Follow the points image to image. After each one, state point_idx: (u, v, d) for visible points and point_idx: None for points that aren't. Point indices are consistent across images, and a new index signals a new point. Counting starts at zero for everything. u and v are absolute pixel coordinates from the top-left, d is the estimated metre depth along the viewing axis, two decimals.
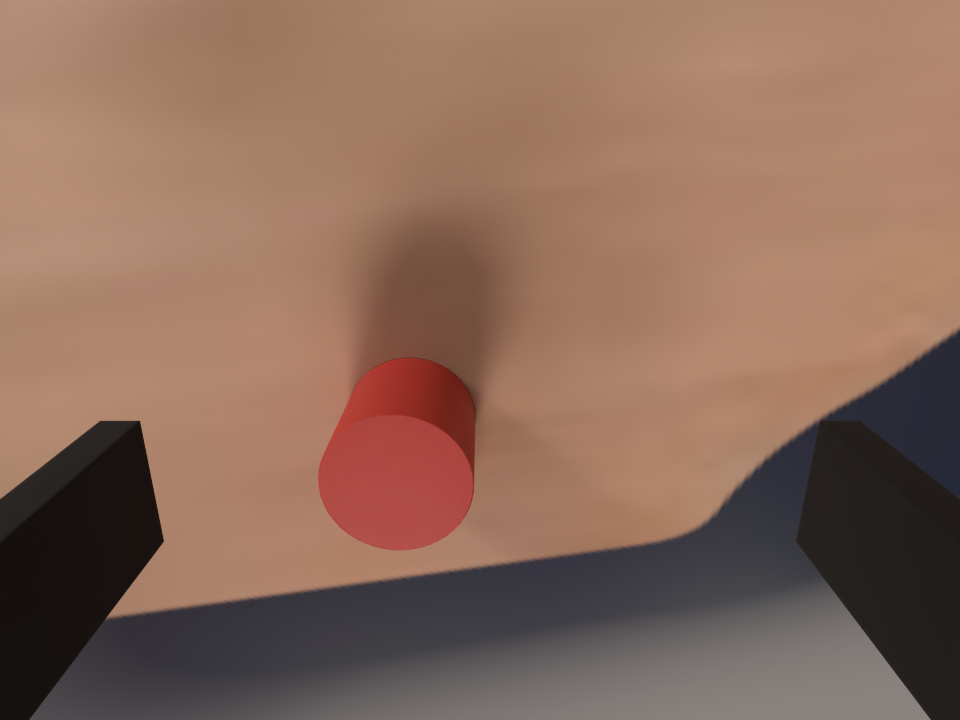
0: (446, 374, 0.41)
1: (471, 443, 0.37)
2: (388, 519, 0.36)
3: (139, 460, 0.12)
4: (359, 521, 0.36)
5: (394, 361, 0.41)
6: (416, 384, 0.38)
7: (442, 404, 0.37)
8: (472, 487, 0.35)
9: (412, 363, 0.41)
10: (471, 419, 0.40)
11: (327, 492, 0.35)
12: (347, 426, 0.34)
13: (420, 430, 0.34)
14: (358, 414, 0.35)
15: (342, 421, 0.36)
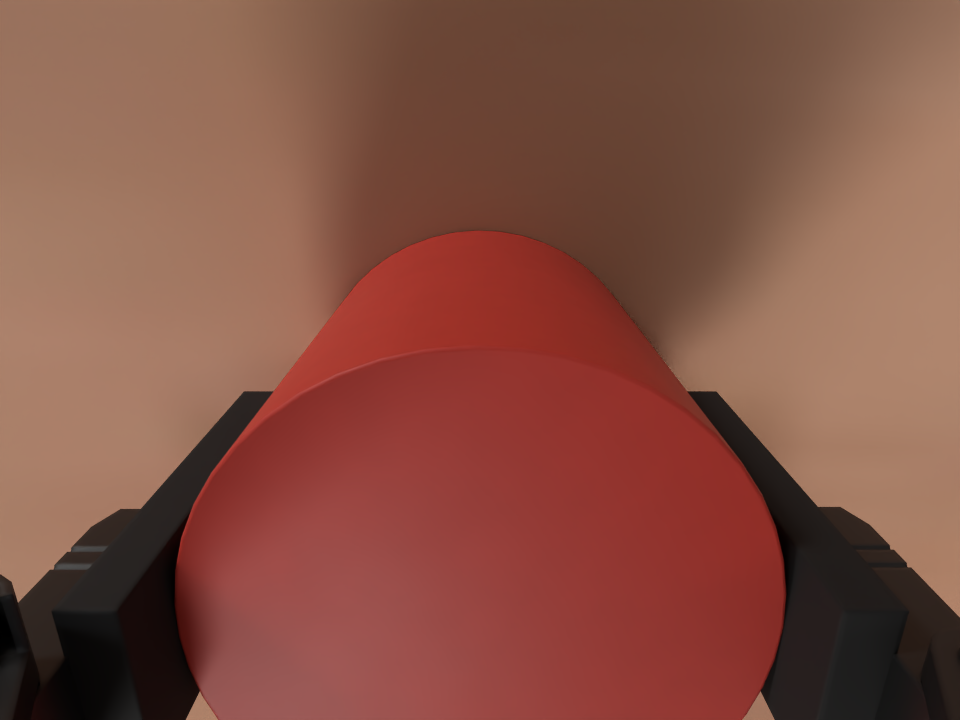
0: (603, 286, 0.15)
1: None
2: None
3: None
4: None
5: (465, 234, 0.15)
6: (558, 281, 0.12)
7: (653, 352, 0.11)
8: (765, 672, 0.09)
9: (518, 241, 0.15)
10: None
11: (206, 628, 0.09)
12: (322, 377, 0.08)
13: (633, 434, 0.08)
14: (372, 338, 0.09)
15: (303, 362, 0.10)
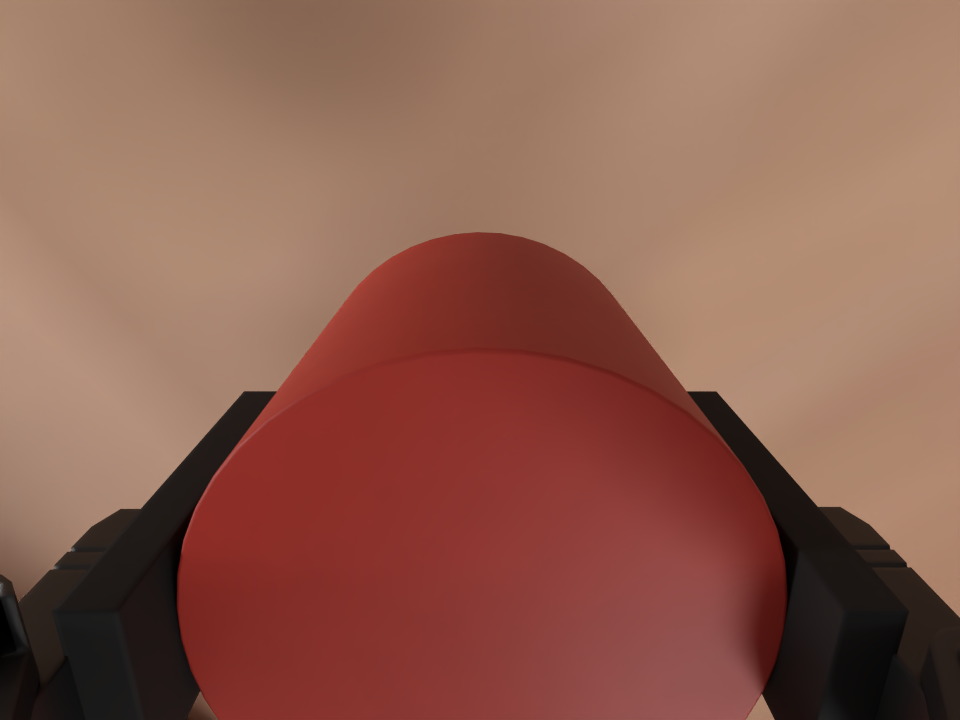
0: (604, 288, 0.15)
1: None
2: None
3: None
4: None
5: (466, 235, 0.15)
6: (560, 283, 0.12)
7: (654, 354, 0.11)
8: (766, 674, 0.09)
9: (519, 243, 0.15)
10: None
11: (208, 630, 0.09)
12: (324, 380, 0.08)
13: (635, 436, 0.08)
14: (373, 341, 0.09)
15: (305, 365, 0.10)
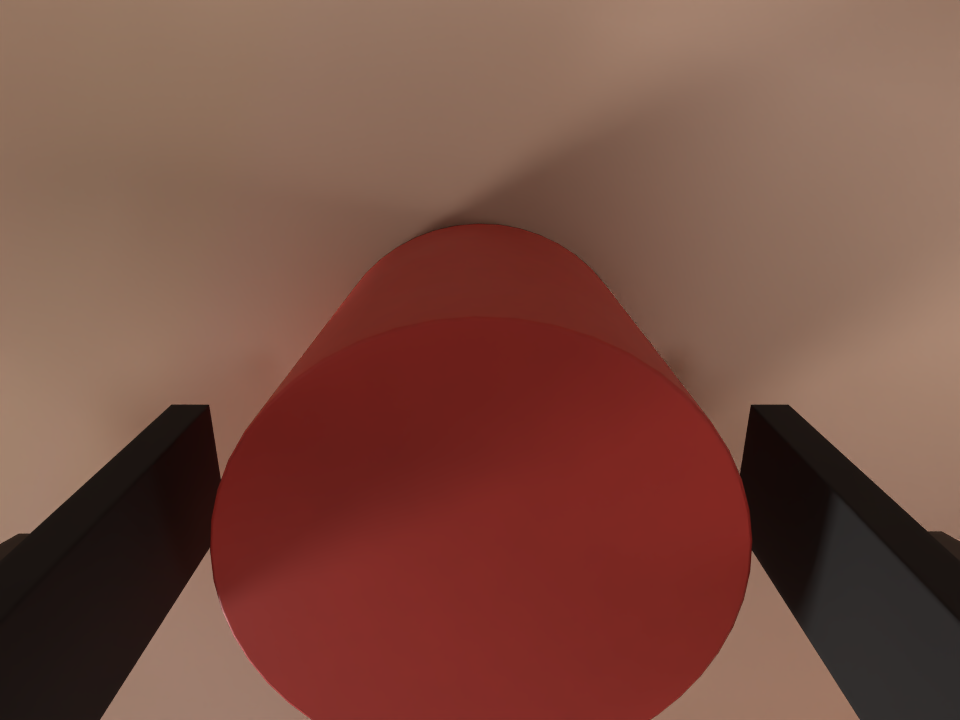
0: (595, 275, 0.16)
1: None
2: (430, 678, 0.11)
3: (208, 441, 0.13)
4: (335, 674, 0.11)
5: (467, 226, 0.16)
6: (552, 267, 0.13)
7: (637, 331, 0.12)
8: (734, 612, 0.10)
9: (516, 233, 0.16)
10: None
11: (237, 572, 0.10)
12: (343, 345, 0.09)
13: (615, 395, 0.09)
14: (386, 314, 0.10)
15: (322, 338, 0.11)
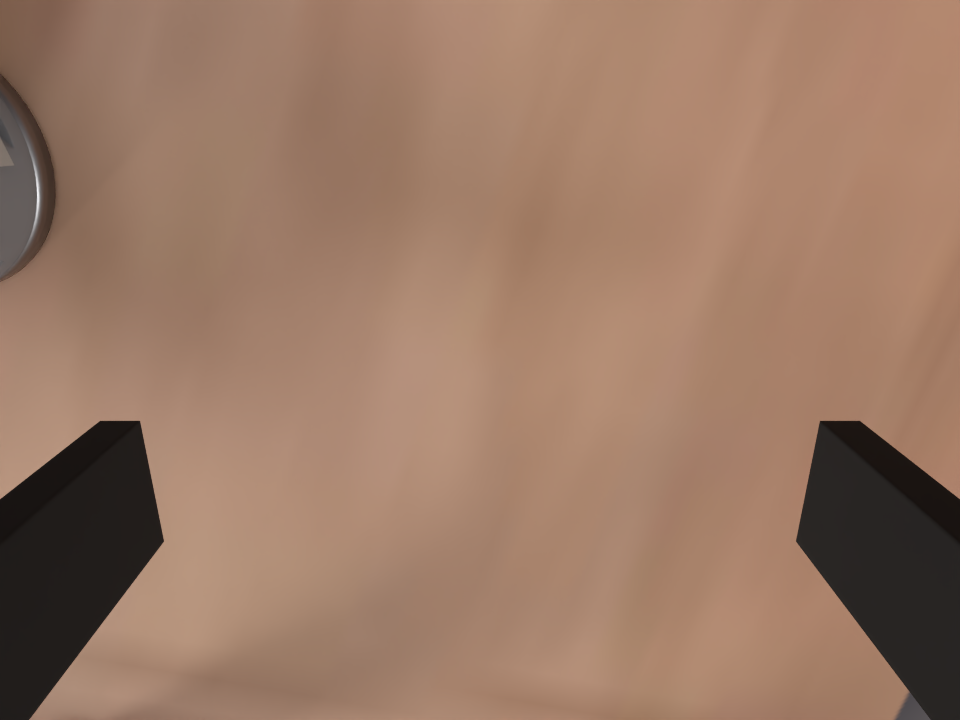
0: None
1: None
2: None
3: (139, 460, 0.12)
4: None
5: None
6: None
7: None
8: None
9: None
10: None
11: None
12: None
13: None
14: None
15: None
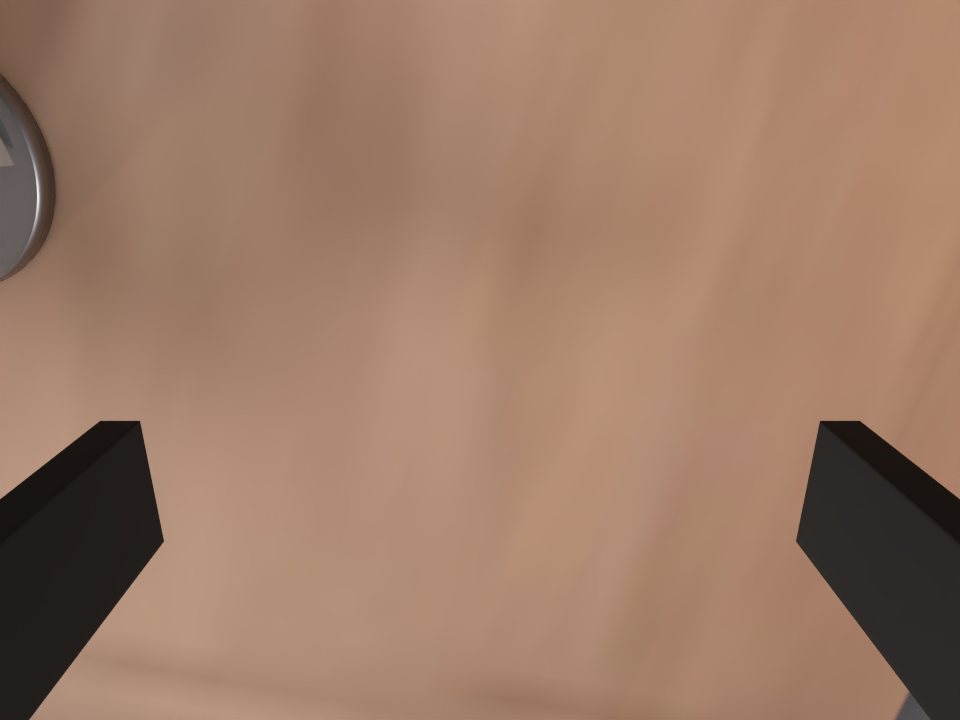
0: None
1: None
2: None
3: (139, 460, 0.12)
4: None
5: None
6: None
7: None
8: None
9: None
10: None
11: None
12: None
13: None
14: None
15: None
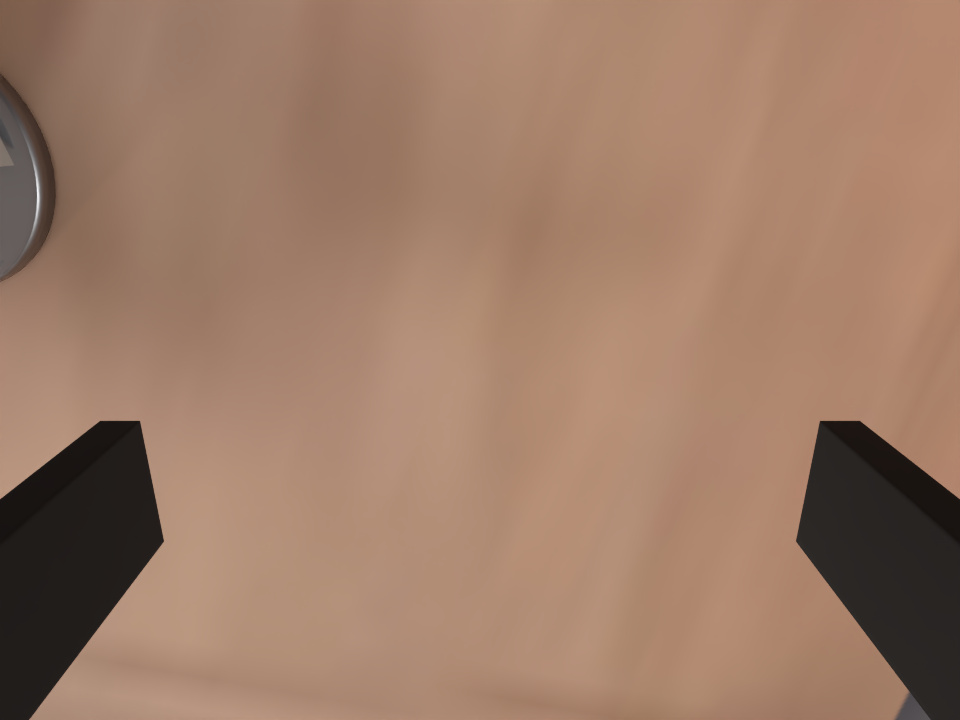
0: None
1: None
2: None
3: (139, 460, 0.12)
4: None
5: None
6: None
7: None
8: None
9: None
10: None
11: None
12: None
13: None
14: None
15: None
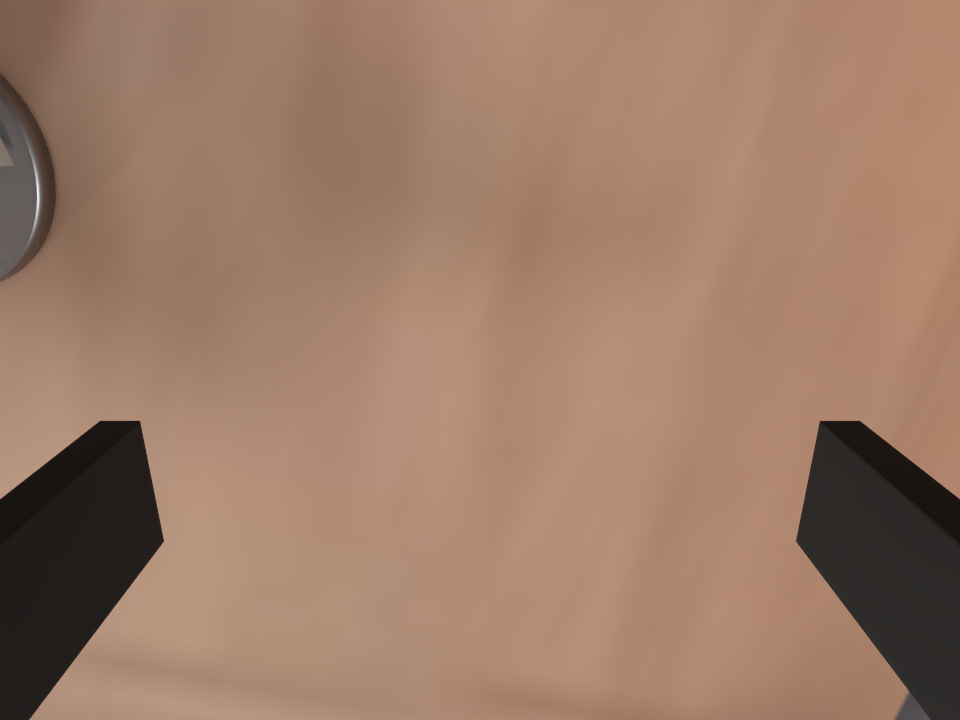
0: None
1: None
2: None
3: (139, 460, 0.12)
4: None
5: None
6: None
7: None
8: None
9: None
10: None
11: None
12: None
13: None
14: None
15: None
